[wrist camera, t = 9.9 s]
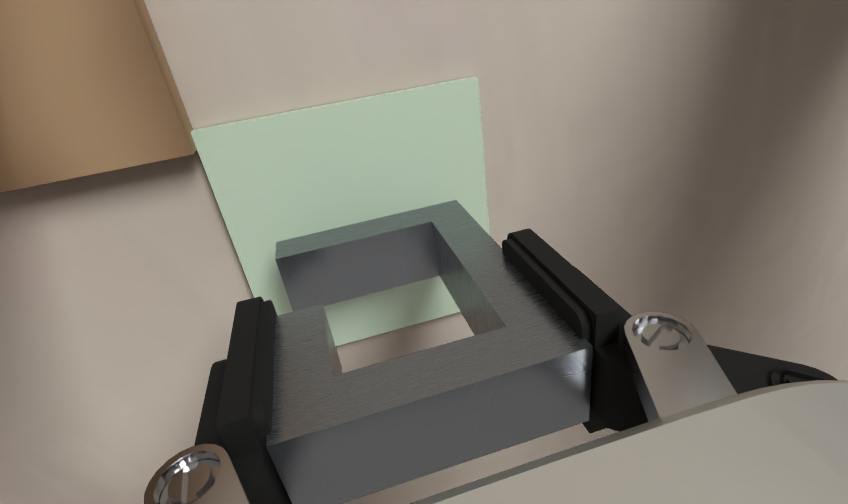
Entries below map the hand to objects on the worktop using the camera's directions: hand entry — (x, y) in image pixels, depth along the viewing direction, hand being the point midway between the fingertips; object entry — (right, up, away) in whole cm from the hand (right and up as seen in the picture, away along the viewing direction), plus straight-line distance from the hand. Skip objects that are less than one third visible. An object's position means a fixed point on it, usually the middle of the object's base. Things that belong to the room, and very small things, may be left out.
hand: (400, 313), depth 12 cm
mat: (-1, +3, +5) cm, 6 cm away
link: (-1, +2, +3) cm, 4 cm away
